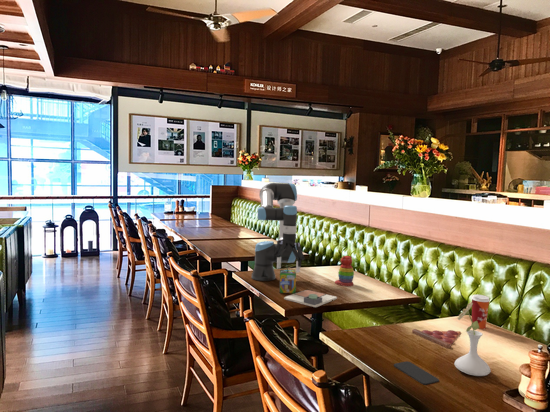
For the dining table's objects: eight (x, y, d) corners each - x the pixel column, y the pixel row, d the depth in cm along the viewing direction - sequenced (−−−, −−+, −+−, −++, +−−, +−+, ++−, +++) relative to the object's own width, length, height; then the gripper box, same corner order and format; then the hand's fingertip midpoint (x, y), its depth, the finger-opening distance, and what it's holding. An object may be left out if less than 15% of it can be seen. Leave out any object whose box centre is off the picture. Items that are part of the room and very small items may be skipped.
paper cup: (482, 331, 185) (484, 300, 184) (465, 325, 191) (467, 295, 190) (491, 327, 189) (493, 297, 188) (475, 322, 195) (477, 293, 194)
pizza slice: (411, 328, 180) (442, 322, 190) (411, 334, 180) (442, 327, 190) (447, 344, 164) (479, 336, 174) (447, 350, 164) (479, 341, 174)
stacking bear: (348, 281, 264) (350, 253, 263) (357, 285, 255) (358, 257, 253) (333, 282, 260) (334, 254, 259) (341, 287, 251) (342, 257, 250)
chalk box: (295, 293, 233) (296, 267, 232) (279, 293, 233) (280, 267, 232) (295, 289, 243) (296, 264, 241) (279, 288, 243) (280, 263, 242)
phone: (423, 384, 134) (392, 364, 148) (423, 386, 134) (392, 366, 148) (440, 380, 137) (408, 360, 151) (440, 382, 137) (408, 363, 151)
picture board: (284, 299, 222) (284, 292, 222) (306, 291, 239) (306, 285, 239) (315, 307, 210) (315, 300, 210) (336, 298, 226) (337, 292, 226)
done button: (307, 299, 215) (307, 295, 215) (311, 298, 218) (312, 293, 218) (314, 301, 212) (314, 296, 212) (318, 299, 215) (319, 295, 215)
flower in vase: (468, 361, 153) (472, 294, 151) (497, 375, 143) (502, 303, 141) (443, 368, 147) (448, 298, 145) (472, 383, 137) (477, 308, 135)
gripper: (268, 231, 240) (267, 267, 242) (303, 235, 225) (302, 274, 226) (276, 230, 246) (275, 266, 247) (311, 234, 231) (310, 272, 232)
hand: (288, 270), depth 237 cm, fingers open, 13 cm apart
